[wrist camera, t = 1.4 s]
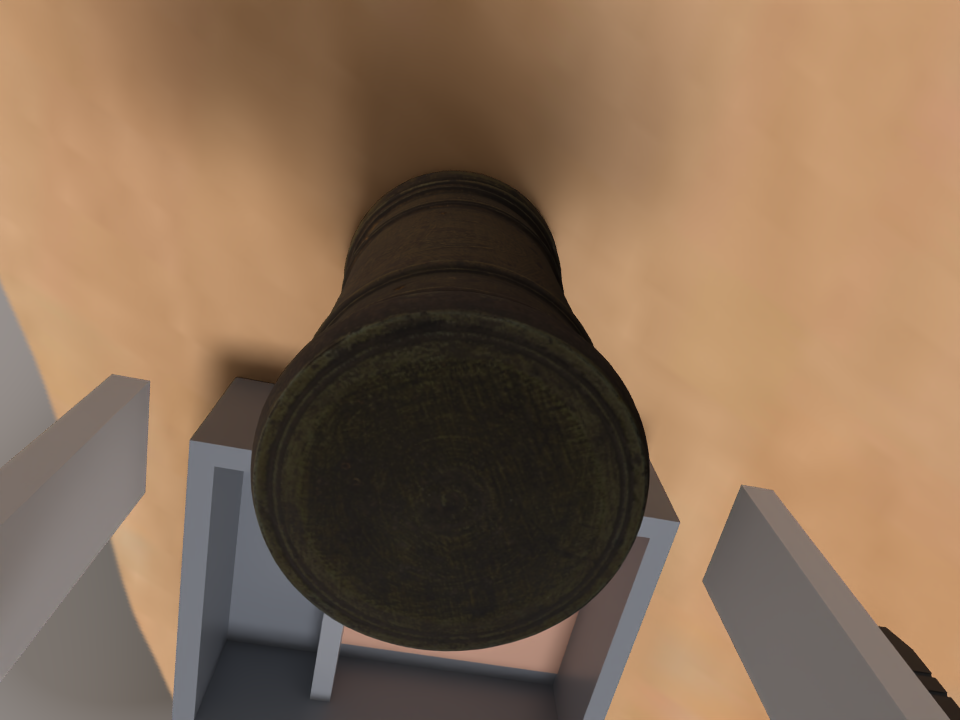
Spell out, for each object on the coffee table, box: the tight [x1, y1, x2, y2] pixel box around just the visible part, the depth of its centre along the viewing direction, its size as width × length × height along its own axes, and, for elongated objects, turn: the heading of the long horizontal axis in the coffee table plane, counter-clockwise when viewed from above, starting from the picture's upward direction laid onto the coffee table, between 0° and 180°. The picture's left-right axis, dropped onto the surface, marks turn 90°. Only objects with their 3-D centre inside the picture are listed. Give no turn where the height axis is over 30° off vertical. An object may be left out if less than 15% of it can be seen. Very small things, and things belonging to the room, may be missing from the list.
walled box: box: [172, 377, 680, 720], centre depth 34 cm, size 16×20×6 cm
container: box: [250, 171, 650, 651], centre depth 22 cm, size 9×9×18 cm
